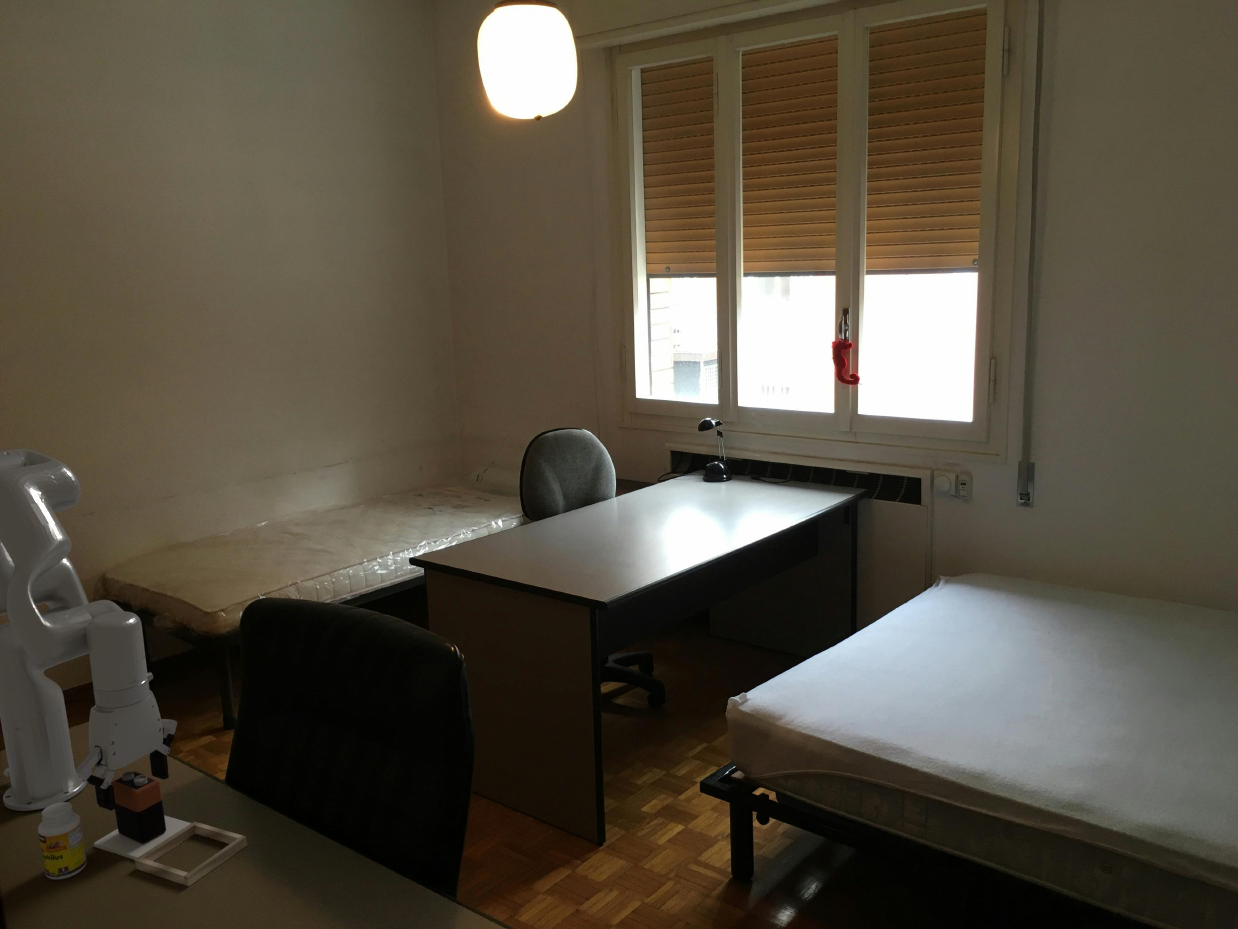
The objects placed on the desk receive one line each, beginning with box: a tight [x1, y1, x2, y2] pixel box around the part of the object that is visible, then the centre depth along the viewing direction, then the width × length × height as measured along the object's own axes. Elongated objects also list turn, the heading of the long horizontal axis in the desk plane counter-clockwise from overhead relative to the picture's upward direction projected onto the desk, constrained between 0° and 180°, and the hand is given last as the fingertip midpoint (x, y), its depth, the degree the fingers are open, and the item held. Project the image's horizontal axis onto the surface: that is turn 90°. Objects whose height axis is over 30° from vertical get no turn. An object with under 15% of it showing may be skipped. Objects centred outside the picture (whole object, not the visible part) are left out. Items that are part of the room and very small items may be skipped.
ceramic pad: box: [93, 814, 192, 861], centre depth 154 cm, size 10×10×1 cm
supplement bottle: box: [37, 801, 88, 881], centre depth 145 cm, size 6×6×10 cm
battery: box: [110, 770, 166, 844], centre depth 153 cm, size 4×7×10 cm, turn 59°
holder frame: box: [134, 821, 248, 887], centre depth 148 cm, size 11×11×2 cm
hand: (134, 792), depth 153 cm, fingers open, 9 cm apart
